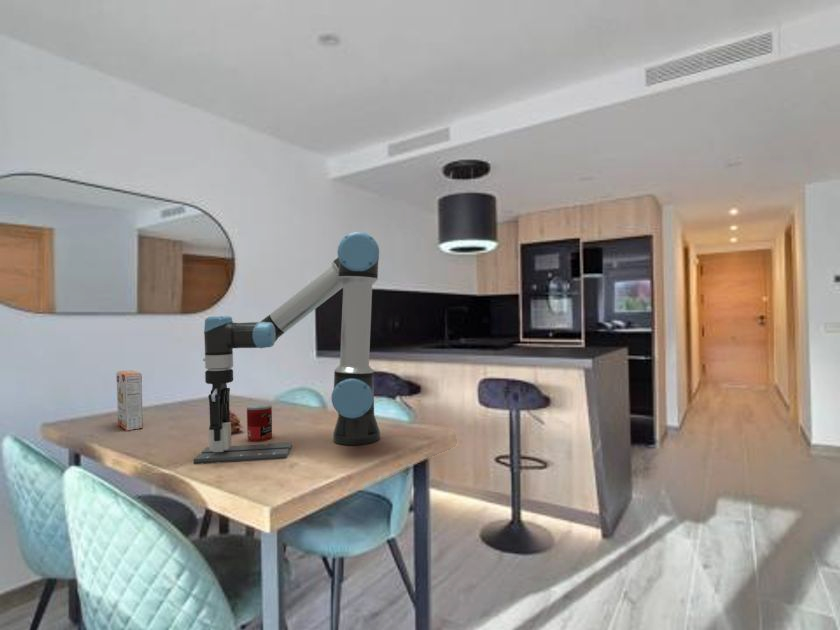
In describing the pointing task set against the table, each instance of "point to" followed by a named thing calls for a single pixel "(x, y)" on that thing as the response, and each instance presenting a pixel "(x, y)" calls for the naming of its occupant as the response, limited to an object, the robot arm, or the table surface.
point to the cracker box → (129, 400)
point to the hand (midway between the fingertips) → (220, 449)
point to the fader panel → (245, 453)
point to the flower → (235, 422)
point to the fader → (226, 436)
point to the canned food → (259, 422)
